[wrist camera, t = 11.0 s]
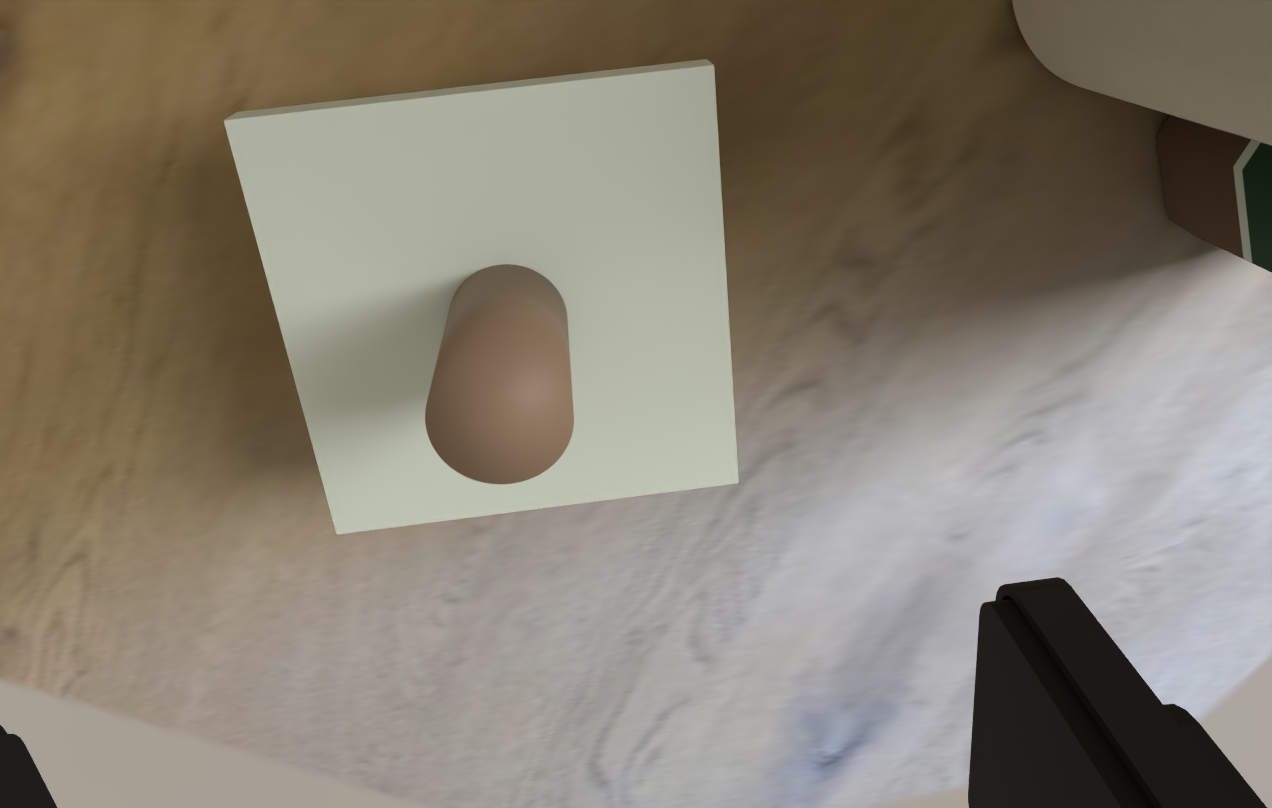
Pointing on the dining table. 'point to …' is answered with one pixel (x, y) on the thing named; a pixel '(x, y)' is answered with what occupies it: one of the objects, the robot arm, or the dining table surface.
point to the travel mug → (1163, 55)
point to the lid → (501, 290)
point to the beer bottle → (1219, 187)
